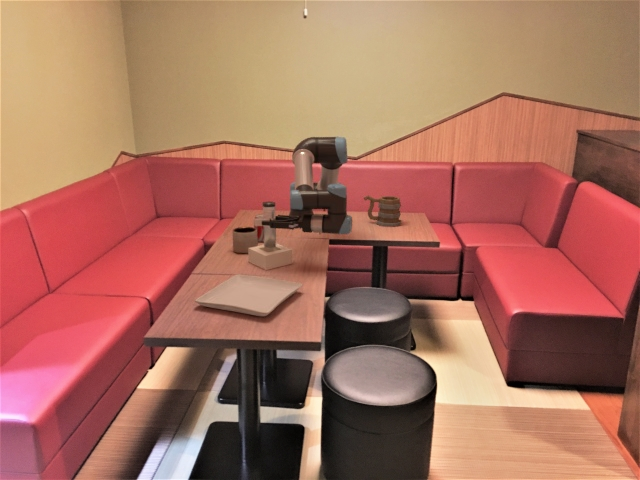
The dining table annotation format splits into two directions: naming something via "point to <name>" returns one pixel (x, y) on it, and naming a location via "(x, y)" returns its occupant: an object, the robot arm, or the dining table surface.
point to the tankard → (386, 211)
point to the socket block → (270, 256)
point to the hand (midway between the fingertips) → (256, 220)
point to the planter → (244, 239)
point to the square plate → (249, 294)
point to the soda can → (259, 231)
